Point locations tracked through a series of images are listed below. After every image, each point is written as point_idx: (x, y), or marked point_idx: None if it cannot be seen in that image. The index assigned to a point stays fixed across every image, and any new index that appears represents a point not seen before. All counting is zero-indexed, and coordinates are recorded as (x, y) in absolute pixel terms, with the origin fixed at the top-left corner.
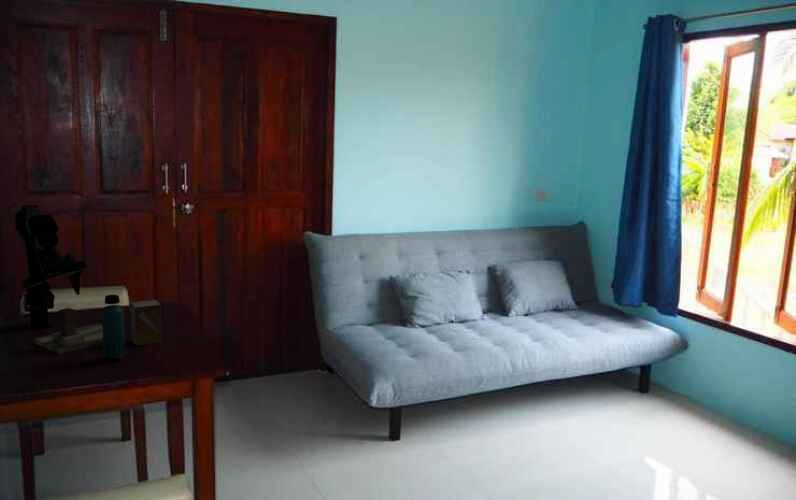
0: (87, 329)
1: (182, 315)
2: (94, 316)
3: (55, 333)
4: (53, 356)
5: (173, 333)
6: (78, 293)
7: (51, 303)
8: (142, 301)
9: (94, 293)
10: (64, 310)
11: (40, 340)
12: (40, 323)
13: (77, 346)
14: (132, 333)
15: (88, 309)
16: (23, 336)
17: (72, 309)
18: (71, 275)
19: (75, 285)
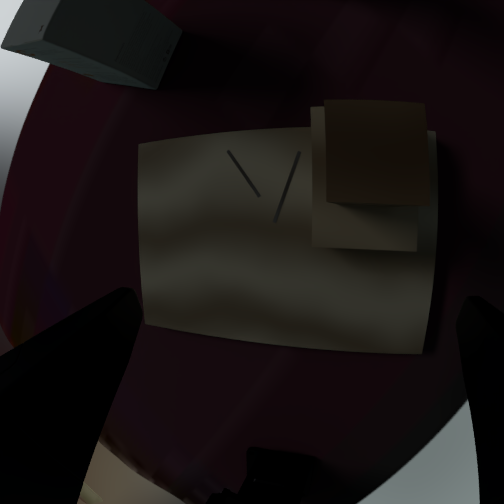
0: (203, 291)
1: (3, 223)
2: (122, 410)
3: (401, 243)
4: (457, 131)
5: (65, 92)
6: (125, 291)
7: (474, 297)
8: (19, 42)
9: (87, 489)
10: (404, 143)
11: (421, 313)
12: (291, 466)
13: None
14: (145, 60)
15: (118, 454)
16: (380, 435)
17: (334, 117)
18: (14, 501)
19: (70, 370)
